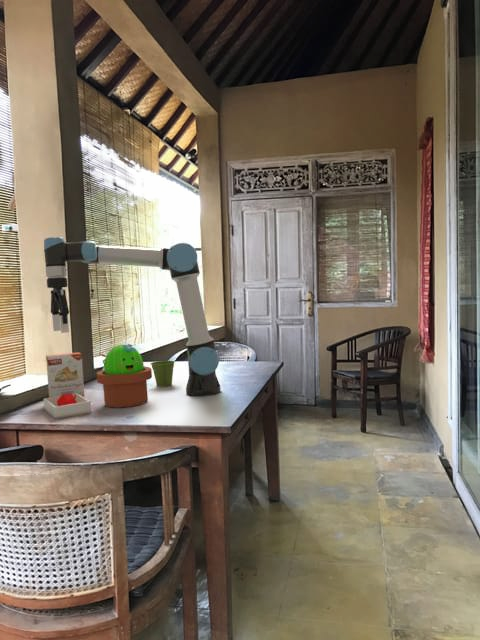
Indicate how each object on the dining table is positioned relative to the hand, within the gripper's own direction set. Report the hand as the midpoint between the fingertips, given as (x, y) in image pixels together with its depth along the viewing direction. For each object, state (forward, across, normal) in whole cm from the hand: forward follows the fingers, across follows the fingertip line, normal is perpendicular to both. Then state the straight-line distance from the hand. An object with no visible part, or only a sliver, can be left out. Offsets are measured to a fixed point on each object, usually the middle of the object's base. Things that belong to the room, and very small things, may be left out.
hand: (61, 331), depth 197 cm
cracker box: (+32, +17, -4) cm, 36 cm away
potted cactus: (+32, -4, -23) cm, 39 cm away
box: (+32, 0, 0) cm, 32 cm away
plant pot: (+32, +19, -50) cm, 62 cm away
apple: (+31, 0, 0) cm, 31 cm away
